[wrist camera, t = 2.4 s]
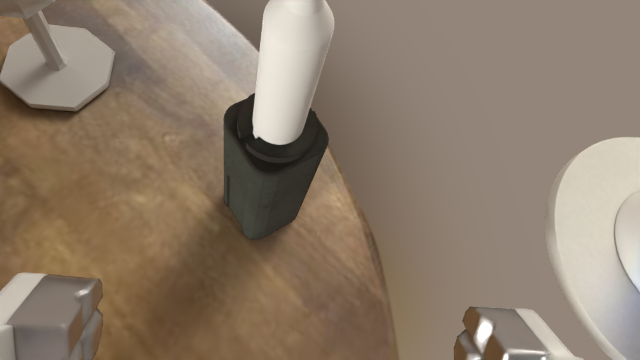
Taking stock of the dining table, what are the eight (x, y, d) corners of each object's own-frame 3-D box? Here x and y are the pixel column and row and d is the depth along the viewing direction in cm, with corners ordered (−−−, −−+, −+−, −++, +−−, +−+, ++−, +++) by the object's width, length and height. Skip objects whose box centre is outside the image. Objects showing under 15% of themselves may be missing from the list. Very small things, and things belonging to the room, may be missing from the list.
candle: (218, 193, 37) (209, -88, 15) (271, 166, 39) (334, -119, 17) (250, 245, 36) (290, 24, 14) (303, 215, 38) (416, -23, 16)
